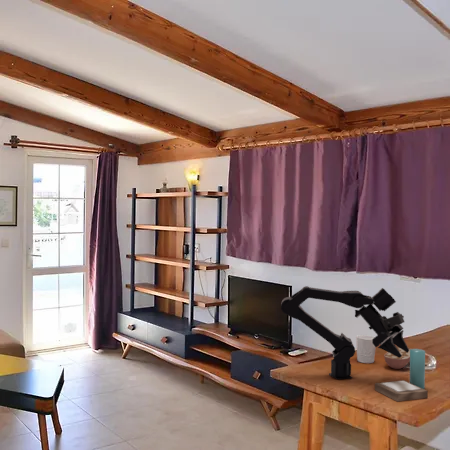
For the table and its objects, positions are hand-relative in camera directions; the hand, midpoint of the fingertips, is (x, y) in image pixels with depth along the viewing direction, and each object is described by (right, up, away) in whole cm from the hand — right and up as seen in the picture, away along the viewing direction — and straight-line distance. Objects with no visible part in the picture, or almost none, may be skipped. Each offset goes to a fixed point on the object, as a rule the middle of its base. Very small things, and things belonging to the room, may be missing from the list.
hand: (404, 354), depth 188 cm
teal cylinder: (+3, -11, -3) cm, 12 cm away
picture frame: (-5, -11, -10) cm, 15 cm away
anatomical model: (+7, -11, +28) cm, 31 cm away
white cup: (-6, -11, +31) cm, 34 cm away
